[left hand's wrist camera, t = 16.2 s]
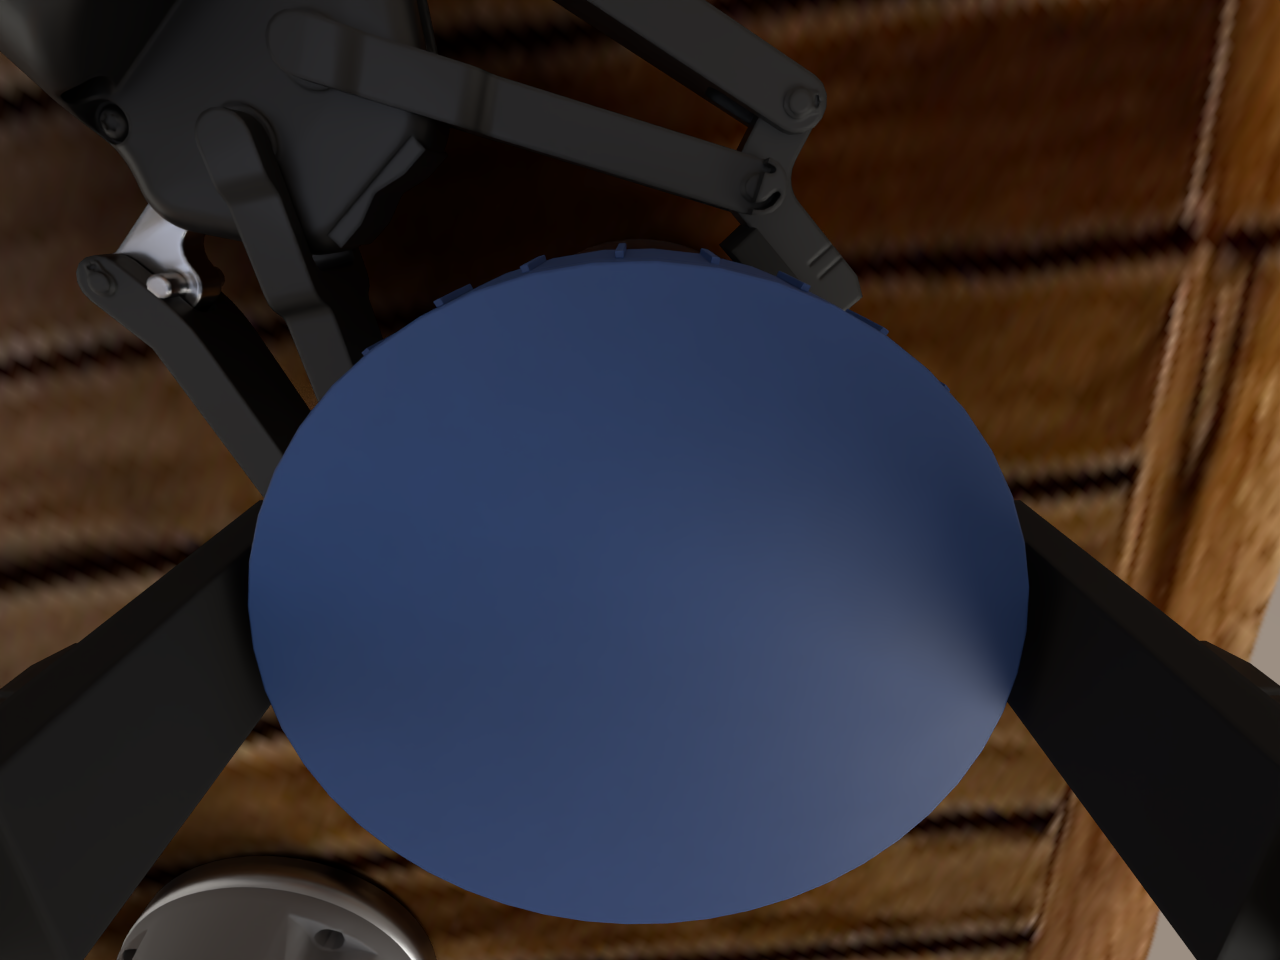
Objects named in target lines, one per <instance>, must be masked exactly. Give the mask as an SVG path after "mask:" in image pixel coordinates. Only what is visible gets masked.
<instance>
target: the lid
mask: <svg viewBox="0 0 1280 960" xmlns="http://www.w3.org/2000/svg"><path fill="white" fill-rule="evenodd" d="M810 287H811V286H810V285H808V284H806V283H804V282H802V281H800V280H798V279H796V278H794V277H792V276H790V275H788V274H786V273H784V272H781V271H778V273H777V277H776V276H774V275H772V274H769V273H767V272H764V271H762V270H759V269H757V268H754V267H752V266H748V265H744V264H741V263H737V262H733V261H729V260H725V259H721V258H719V257H718V256H716V255H715V254H714V253H712V252H711V251H709V250H708V249H703V248H701V251H700V254H698V253H689V252H680V251H671V250H662V249H626V243H619V244H618V246H617V248H616V250H600V251H594V252H588V253H582V254H576V255H570V256H564V257H558V258H553V259H550V260H546V257H545V255H542V256H538V257H537V258H535V259H533V260H531V261H529V262H527V263H525V264H524V265H522V266H520V269H518V270H515V271H512V272H509V273H506V274H504V275H501V276H499V277H497V278H495V279H493V280H491V281H489V282H487V283H485V284H483V285H481V286H479V287H476V288H474V289H473V288H472V286H471V284H468V285H466V286H464V287H462V288H460V289H458V290H456V291H454V292H451V293H449V294H447V295H445V296H443V297H441V298H439V299H437V300H435V301H434V304H435V305H436V307H437V308H435V309H433V310H431V311H429V312H428V313H426V314H424V315H422V316H420V317H418V318H417V319H415V320H414V321H412V322H411V323H409V324H408V325H406V326H405V327H403V328H402V329H400V330H399V331H398V332H396V333H394V334H392V335H390V336H389V337H387V338H385V339H383V340H381V341H379V342H377V343H375V344H374V345H372V346H370V347H368V348H366V349H365V350H364V351H363V352H362V354H363V355H364V357H362V358H361V359H360V360H359V361H358V362H357V363H356V364H355V365H354V366H353V367H352V368H351V369H349V370H348V371H347V372H346V373H345V374H344V375H343V376H342V377H341V378H340V379H339V380H337V381H336V382H335V383H334V384H333V385H332V386H331V387H330V389H329V390H328V391H327V392H326V394H325V395H324V396H323V397H322V399H321V400H320V401H319V402H318V404H317V405H316V406H315V407H314V409H312V410H311V411H310V413H309V414H308V416H307V417H306V419H305V420H304V421H303V422H302V424H301V425H300V426H299V428H298V430H297V431H296V433H295V435H294V437H293V438H292V440H291V442H290V444H289V446H288V447H287V449H286V451H285V453H284V454H283V456H282V458H281V460H280V462H279V463H278V465H277V467H276V469H275V470H274V473H273V476H272V479H271V481H270V484H269V487H268V490H267V492H266V495H265V498H264V500H263V503H262V506H261V509H260V511H259V514H258V518H257V523H256V528H255V534H254V539H253V544H252V549H251V554H250V559H249V582H248V612H249V620H250V628H251V636H252V644H253V650H254V654H255V657H256V661H257V664H258V668H259V671H260V675H261V679H262V682H263V686H264V689H265V692H266V694H267V696H268V698H269V701H270V703H271V705H272V707H273V710H274V712H275V714H276V716H277V719H278V721H279V723H280V725H281V728H282V730H283V731H284V733H285V734H286V736H287V738H288V739H289V741H290V742H291V744H292V746H293V747H294V749H295V751H296V752H297V754H298V755H299V757H300V759H301V760H302V762H303V763H304V765H305V766H306V767H307V769H308V770H309V771H310V772H311V773H312V775H313V776H314V777H315V778H316V780H317V781H318V782H319V783H320V785H321V786H322V787H323V788H324V789H325V791H326V792H327V793H328V794H329V796H330V797H331V798H332V799H333V800H334V801H335V802H336V803H338V804H339V805H340V806H341V807H342V808H343V809H344V810H345V811H346V812H347V813H348V814H349V815H350V816H351V817H352V818H353V819H354V820H355V821H356V822H357V823H358V824H359V825H360V826H362V827H363V828H364V829H366V830H367V831H368V832H369V833H371V834H372V835H373V836H375V837H376V838H377V839H379V840H380V841H381V842H383V843H384V844H385V845H386V846H388V847H389V848H390V849H392V850H393V851H395V852H396V853H398V854H400V855H401V856H403V857H404V858H406V859H408V860H409V861H411V862H413V863H414V864H416V865H418V866H419V867H421V868H422V869H424V870H426V871H427V872H429V873H431V874H433V875H436V876H438V877H440V878H442V879H444V880H446V881H448V882H450V883H452V884H454V885H456V886H459V887H461V888H463V889H465V890H467V891H470V892H473V893H476V894H478V895H481V896H484V897H487V898H489V899H492V900H495V901H498V902H500V903H503V904H507V905H510V906H514V907H518V908H522V909H526V910H530V911H534V912H537V913H541V914H546V915H552V916H558V917H564V918H570V919H576V920H582V921H593V922H607V923H621V924H648V923H674V922H683V921H692V920H701V919H710V918H715V917H720V916H725V915H729V914H734V913H739V912H744V911H749V910H753V909H756V908H759V907H763V906H766V905H769V904H773V903H776V902H779V901H782V900H786V899H789V898H792V897H794V896H796V895H799V894H801V893H804V892H806V891H809V890H811V889H814V888H816V887H818V886H821V885H823V884H826V883H828V882H830V881H832V880H834V879H836V878H837V877H839V876H841V875H843V874H845V873H847V872H849V871H851V870H852V869H854V868H856V867H858V866H860V865H862V864H864V863H865V862H867V861H868V860H870V859H871V858H873V857H874V856H876V855H877V854H879V853H880V852H882V851H883V850H885V849H886V848H888V847H889V846H891V845H892V844H894V843H895V842H896V841H898V840H899V839H900V838H902V837H903V836H904V835H905V834H906V833H908V832H909V831H910V830H911V829H912V828H913V827H915V826H916V825H917V824H918V823H919V822H921V821H922V820H923V819H924V818H925V817H926V816H928V815H929V814H930V813H931V812H932V811H933V810H934V809H935V808H936V807H937V805H938V804H939V803H940V802H941V801H942V800H943V799H944V798H945V797H946V796H947V795H948V794H949V793H950V792H951V790H952V789H953V788H954V787H955V786H956V785H957V784H958V783H959V782H960V780H961V779H962V777H963V776H964V775H965V773H966V772H967V771H968V769H969V768H970V766H971V765H972V764H973V762H974V761H975V760H976V758H977V757H978V755H979V754H980V753H981V751H982V750H983V748H984V746H985V745H986V743H987V741H988V739H989V737H990V735H991V733H992V732H993V730H994V728H995V726H996V724H997V722H998V721H999V719H1000V717H1001V715H1002V713H1003V711H1004V708H1005V705H1006V703H1007V700H1008V697H1009V695H1010V692H1011V689H1012V687H1013V684H1014V681H1015V679H1016V676H1017V673H1018V669H1019V664H1020V660H1021V655H1022V650H1023V646H1024V641H1025V636H1026V632H1027V616H1028V599H1029V581H1028V571H1027V561H1026V551H1025V541H1024V538H1023V534H1022V530H1021V526H1020V523H1019V519H1018V515H1017V511H1016V508H1015V504H1014V500H1013V496H1012V494H1011V492H1010V490H1009V487H1008V485H1007V483H1006V481H1005V478H1004V476H1003V474H1002V472H1001V469H1000V467H999V465H998V463H997V461H996V458H995V456H994V454H993V452H992V450H991V449H990V447H989V446H988V444H987V443H986V441H985V439H984V438H983V436H982V435H981V433H980V432H979V430H978V429H977V427H976V426H975V424H974V423H973V421H972V420H971V418H970V417H969V415H968V414H967V412H966V411H965V409H964V408H963V407H962V406H961V405H960V404H959V402H958V401H957V400H956V399H955V398H954V397H953V396H952V395H951V394H950V393H949V391H950V389H949V388H948V387H947V386H946V385H945V384H943V383H942V382H940V381H938V379H937V378H936V377H935V376H934V375H933V374H932V373H931V372H930V371H929V370H928V369H927V368H926V367H925V366H923V365H922V364H921V363H920V362H918V361H917V360H916V359H915V358H914V357H912V356H911V355H910V354H909V353H907V352H906V351H905V350H904V349H902V348H901V347H900V346H899V345H897V344H896V343H895V342H894V341H892V340H891V339H890V338H889V337H888V336H886V335H887V334H888V332H889V331H888V330H887V329H885V328H884V327H882V326H880V325H878V324H876V323H874V322H872V321H870V320H868V319H867V318H865V317H863V316H861V315H859V314H857V313H855V312H853V311H851V310H849V309H846V311H844V310H842V309H841V308H839V307H837V306H836V305H834V304H832V303H830V302H828V301H826V300H824V299H823V298H821V297H819V296H817V295H815V294H813V293H811V292H809V289H810Z"/></svg>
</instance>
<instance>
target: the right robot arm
mask: <svg viewBox="0 0 1280 960" xmlns="http://www.w3.org/2000/svg"><path fill="white" fill-rule="evenodd" d="M553 1H555V2H556V3H558V4H559V5H561V6H562V7H564V8H565V9H567V10H568V11H570V12H572V13H573V14H575V15H576V16H578V17H579V18H581V19H582V20H584V21H585V22H587V23H588V24H590V25H592V26H593V27H595V28H596V29H598V30H599V31H601V32H602V33H604V34H605V35H607V36H609V37H610V38H612V39H613V40H615V41H616V42H618V43H619V44H621V45H622V46H624V47H625V48H627V49H629V50H630V51H632V52H633V53H635V54H636V55H638V56H639V57H641V58H642V59H644V60H645V61H647V62H649V63H650V64H652V65H653V66H655V67H656V68H658V69H659V70H661V71H662V72H664V73H666V74H667V75H669V76H670V77H672V78H673V79H675V80H676V81H678V82H679V83H681V84H682V85H684V86H686V87H687V88H689V89H690V90H692V91H693V92H695V93H696V94H698V95H699V96H701V97H702V98H704V99H706V100H707V101H709V102H710V103H712V104H713V105H715V106H716V107H718V108H719V109H721V110H723V111H724V112H726V113H727V114H729V115H730V116H732V117H733V118H735V119H736V120H738V121H739V122H741V123H743V124H744V125H746V126H747V127H748V128H747V130H746V132H745V134H744V136H743V138H742V140H741V142H740V144H739V146H738V148H737V150H733V149H730V148H727V147H724V146H720V145H717V144H714V143H711V142H708V141H704V140H701V139H698V138H695V137H692V136H688V135H685V134H682V133H679V132H676V131H672V130H669V129H666V128H663V127H660V126H656V125H653V124H650V123H647V122H644V121H640V120H637V119H634V118H631V117H628V116H624V115H621V114H618V113H615V112H612V111H608V110H605V109H602V108H599V107H596V106H592V105H589V104H586V103H583V102H580V101H576V100H573V99H570V98H567V97H564V96H560V95H557V94H554V93H551V92H548V91H544V90H541V89H538V88H535V87H532V86H528V85H525V84H522V83H519V82H516V81H512V80H509V79H506V78H503V77H500V76H497V75H494V74H491V73H489V72H487V71H485V70H482V69H480V68H477V67H475V66H472V65H469V64H466V63H463V62H460V61H457V60H454V59H450V58H447V57H444V56H441V55H438V51H437V47H436V42H435V37H434V32H433V27H432V22H431V17H430V12H429V7H428V3H427V0H0V51H1V52H2V53H3V54H4V55H5V56H6V57H7V58H8V59H10V60H11V61H12V62H13V63H14V64H15V65H16V66H17V67H18V68H20V69H21V70H22V71H23V72H24V73H25V74H26V75H27V76H28V77H29V78H31V79H32V80H33V81H34V82H35V83H36V84H37V85H38V86H39V87H41V88H42V89H43V90H44V91H45V92H46V93H47V94H48V95H49V96H50V97H52V98H53V99H54V100H55V101H56V102H57V103H58V104H60V105H61V106H62V107H63V108H64V109H66V110H67V111H68V112H69V113H71V114H72V115H73V116H75V117H76V118H77V119H78V120H80V121H81V122H82V123H84V124H85V125H86V126H88V127H89V128H90V129H92V130H93V131H94V132H96V133H97V134H98V135H100V136H101V137H102V138H104V139H105V140H106V141H107V142H108V143H110V144H111V145H112V146H113V147H114V148H115V149H116V150H117V151H118V153H119V154H120V155H121V157H122V158H123V159H124V161H125V162H126V164H127V165H128V167H129V168H130V170H131V172H132V174H133V175H134V177H135V179H136V181H137V184H138V186H139V188H140V190H141V192H142V194H143V196H144V198H145V199H146V201H147V202H148V205H147V206H146V208H145V209H144V211H143V213H142V214H141V216H140V217H139V219H138V220H137V222H136V223H135V225H134V226H133V228H132V229H131V231H130V232H129V234H128V235H127V237H126V238H125V240H124V241H123V243H122V244H121V246H120V247H119V249H118V250H117V251H116V252H115V253H113V254H103V255H94V256H90V257H86V258H85V259H83V260H82V261H81V262H80V263H79V265H78V268H77V271H76V274H77V282H78V284H79V286H80V288H81V290H82V292H83V293H84V294H85V295H86V296H87V297H88V298H89V299H90V300H91V301H92V302H93V303H95V304H96V305H97V306H98V307H100V308H101V309H102V310H104V311H105V312H106V313H108V314H109V315H110V316H111V317H113V318H114V319H115V320H117V321H118V322H119V323H120V324H122V325H123V326H124V327H126V328H127V329H128V330H129V331H131V332H132V333H133V334H135V335H136V336H137V337H138V338H140V339H141V340H142V341H144V342H145V343H146V344H148V345H149V346H150V347H151V348H153V350H154V351H155V352H156V354H157V355H158V356H159V358H160V359H161V360H162V362H163V363H164V364H165V366H166V367H167V368H168V370H169V371H170V372H171V374H172V375H173V376H174V378H175V379H176V380H177V382H178V383H179V385H180V386H181V387H182V389H183V390H184V391H185V393H186V394H187V395H188V397H189V398H190V399H191V401H192V402H193V403H194V405H195V406H196V407H197V409H198V410H199V411H200V413H201V414H202V415H203V417H204V418H205V419H206V421H207V422H208V423H209V425H210V426H211V427H212V429H213V430H214V431H215V433H216V434H217V435H218V437H219V438H220V440H221V441H222V442H223V444H224V445H225V446H226V448H227V449H228V450H229V452H230V453H231V454H232V456H233V457H234V458H235V460H236V461H237V462H238V464H239V465H240V466H241V468H242V469H243V470H244V472H245V473H246V474H247V476H248V477H249V478H250V480H251V481H252V482H253V484H254V485H255V486H256V488H257V489H258V490H259V492H260V493H261V494H262V496H263V497H264V498H265V495H266V492H267V490H268V487H269V484H270V481H271V479H272V476H273V473H274V470H275V469H276V467H277V465H278V463H279V462H280V460H281V458H282V456H283V454H284V453H285V451H286V449H287V447H288V446H289V444H290V442H291V440H292V438H293V437H294V435H295V433H296V431H297V430H298V428H299V426H300V425H301V424H302V422H303V421H304V420H305V419H306V417H307V416H308V414H309V413H310V409H309V408H308V406H307V405H306V403H305V402H304V400H303V399H302V397H301V396H300V395H299V393H298V392H297V390H296V389H295V387H294V386H293V384H292V383H291V381H290V380H289V378H288V377H287V376H286V374H285V373H284V371H283V370H282V368H281V367H280V365H279V364H278V362H277V361H276V359H275V358H274V356H273V355H272V354H271V352H270V351H269V349H268V348H267V346H266V345H265V343H264V342H263V340H262V339H261V337H260V336H259V335H258V333H257V332H256V330H255V329H254V327H253V326H252V325H251V323H250V322H249V321H248V319H247V318H246V317H245V315H244V314H243V313H242V312H241V311H240V310H239V309H238V308H237V306H236V305H235V304H234V303H233V302H232V301H231V300H230V299H229V298H228V297H227V296H226V295H224V294H223V293H222V292H221V287H222V286H223V284H224V282H225V278H224V275H223V273H222V271H221V270H220V269H219V268H217V267H214V266H213V265H212V263H211V262H210V261H209V259H208V258H207V255H206V253H205V250H204V236H205V234H206V235H211V236H217V237H222V238H227V239H232V240H237V241H242V242H243V244H244V247H245V249H246V251H247V254H248V256H249V259H250V261H251V264H252V266H253V269H254V271H255V274H256V276H257V279H258V281H259V284H260V286H261V289H262V291H263V294H264V296H265V298H266V300H267V302H268V304H269V306H270V307H271V308H272V309H273V311H275V312H276V313H277V314H279V315H280V316H282V317H283V318H284V320H285V321H286V323H287V325H288V327H289V330H290V332H291V335H292V337H293V340H294V342H295V345H296V347H297V350H298V352H299V355H300V357H301V360H302V363H303V365H304V368H305V370H306V373H307V375H308V378H309V380H310V383H311V385H312V388H313V390H314V393H315V395H316V398H317V400H318V402H319V401H320V400H321V399H322V397H323V396H324V395H325V394H326V392H327V391H328V390H329V389H330V387H331V386H332V385H333V384H334V383H335V382H336V381H337V380H339V379H340V378H341V377H342V376H343V375H344V374H345V373H346V372H347V371H348V370H349V369H351V368H352V367H353V366H354V365H355V364H356V363H357V362H358V361H359V360H360V359H361V358H362V357H364V355H363V354H362V352H363V351H364V350H365V349H366V348H368V347H370V346H372V345H374V344H375V343H377V342H379V341H381V340H383V338H382V335H381V332H380V329H379V326H378V324H377V321H376V318H375V315H374V312H373V309H372V306H371V304H370V300H369V296H368V292H369V278H368V274H367V271H366V268H365V265H364V262H363V260H362V257H361V254H360V251H359V248H358V246H360V245H364V244H370V243H372V242H373V241H374V240H375V239H376V237H377V236H378V235H379V234H380V233H381V232H382V231H383V229H384V228H385V227H386V226H387V225H388V224H389V223H390V220H391V218H392V216H393V214H394V212H395V209H396V207H397V205H398V203H399V201H400V198H401V196H402V195H403V194H404V193H405V192H406V191H408V190H409V189H411V188H413V187H414V186H416V185H417V184H419V183H421V182H422V181H424V180H425V179H427V178H429V177H430V175H431V174H432V173H433V172H434V171H435V170H436V169H437V167H438V166H439V165H440V164H441V163H442V162H443V161H444V159H445V158H446V157H447V156H448V154H447V153H446V152H445V151H444V148H445V146H446V144H447V140H448V137H449V131H450V127H451V128H454V129H457V130H461V131H464V132H467V133H471V134H474V135H477V136H480V137H484V138H487V139H490V140H494V141H497V142H501V143H505V144H508V145H512V146H515V147H518V148H522V149H525V150H528V151H531V152H535V153H538V154H541V155H545V156H548V157H551V158H555V159H558V160H561V161H564V162H568V163H571V164H574V165H578V166H581V167H584V168H588V169H591V170H594V171H597V172H601V173H604V174H607V175H611V176H614V177H617V178H621V179H624V180H627V181H631V182H634V183H637V184H640V185H644V186H647V187H650V188H654V189H657V190H660V191H664V192H667V193H670V194H673V195H677V196H680V197H683V198H687V199H690V200H693V201H697V202H700V203H703V204H706V205H710V206H713V207H716V208H720V209H723V210H726V211H730V212H731V213H732V214H733V215H734V217H735V218H736V219H737V220H738V221H739V223H740V224H741V225H740V226H739V227H738V228H736V229H735V230H734V231H733V232H732V233H731V234H730V235H729V236H728V237H727V238H726V239H725V240H724V241H723V242H722V243H721V244H720V246H721V247H722V249H723V250H724V251H725V252H726V253H727V254H728V256H729V257H730V258H731V259H732V260H733V262H737V263H741V264H744V265H748V266H752V267H754V268H757V269H759V270H762V271H764V272H767V273H769V274H772V275H774V276H776V277H777V273H778V271H781V272H784V273H786V274H788V275H790V276H792V277H794V278H796V279H798V280H800V281H802V282H804V283H806V284H808V285H810V286H811V287H810V289H809V292H811V293H813V294H815V295H817V296H819V297H821V298H823V299H824V300H826V301H828V302H830V303H832V304H834V305H836V306H837V307H839V308H841V309H842V310H844V311H846V309H849V308H850V307H851V306H852V305H854V304H855V303H856V302H857V301H858V300H859V299H860V298H862V293H861V289H860V285H859V282H858V278H857V275H856V274H855V273H854V271H853V270H852V269H851V268H850V266H849V265H848V264H847V263H846V261H845V260H844V259H843V258H842V257H841V255H840V254H839V252H838V251H837V250H836V249H835V247H834V246H833V245H832V244H831V242H830V241H829V240H828V239H827V237H826V236H825V235H824V234H823V232H822V231H821V230H820V228H819V227H818V226H817V225H816V223H815V222H814V221H813V220H812V218H811V217H810V216H809V215H808V213H807V212H806V211H805V210H804V208H803V207H802V206H801V204H800V203H799V202H798V200H797V199H796V197H795V195H794V193H793V190H792V187H791V173H792V167H793V165H794V163H795V160H796V158H797V156H798V154H799V152H800V150H801V149H802V147H803V145H804V143H805V141H806V139H807V137H808V136H809V134H810V132H811V130H812V128H813V127H815V125H816V124H817V123H818V122H819V121H820V120H821V118H822V117H823V114H824V111H825V109H826V98H827V94H826V91H825V89H824V86H823V83H822V82H821V81H820V80H819V79H818V78H817V77H816V76H815V75H814V74H812V73H811V72H810V71H808V70H807V69H805V68H804V67H802V66H801V65H799V64H798V63H796V62H795V61H793V60H792V59H790V58H789V57H787V56H786V55H785V54H783V53H782V52H780V51H779V50H777V49H776V48H774V47H773V46H771V45H770V44H768V43H767V42H765V41H764V40H762V39H761V38H760V37H758V36H757V35H755V34H754V33H752V32H751V31H749V30H748V29H746V28H745V27H743V26H742V25H740V24H739V23H737V22H736V21H735V20H733V19H732V18H730V17H729V16H727V15H726V14H724V13H723V12H721V11H720V10H718V9H717V8H715V7H714V6H712V5H711V4H710V3H708V2H707V1H705V0H553Z"/></svg>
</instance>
